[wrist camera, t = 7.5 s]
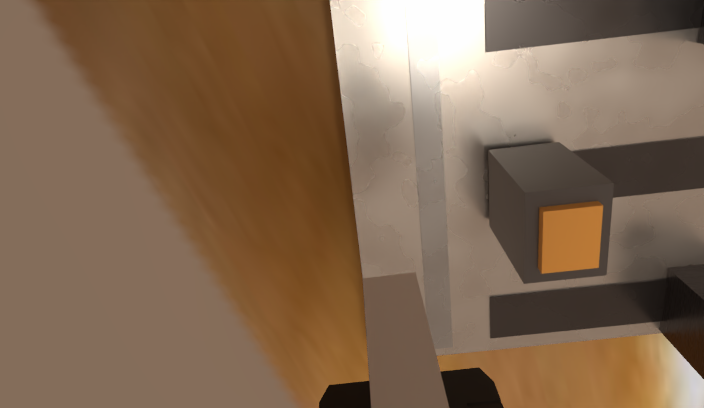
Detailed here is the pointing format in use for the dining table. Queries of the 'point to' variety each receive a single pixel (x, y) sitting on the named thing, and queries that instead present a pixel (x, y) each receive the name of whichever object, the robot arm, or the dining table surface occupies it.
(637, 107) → the breaker panel
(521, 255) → the toggle
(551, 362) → the dining table surface
